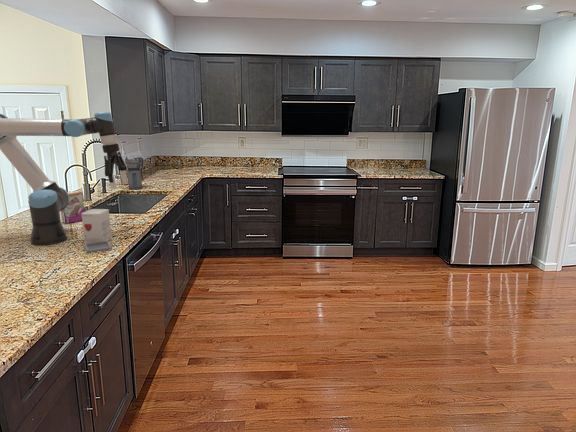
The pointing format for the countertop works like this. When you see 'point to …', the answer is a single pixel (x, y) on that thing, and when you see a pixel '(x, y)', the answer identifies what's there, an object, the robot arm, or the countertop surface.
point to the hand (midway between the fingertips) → (119, 185)
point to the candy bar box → (73, 208)
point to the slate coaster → (97, 246)
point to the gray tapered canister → (134, 173)
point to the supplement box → (96, 225)
